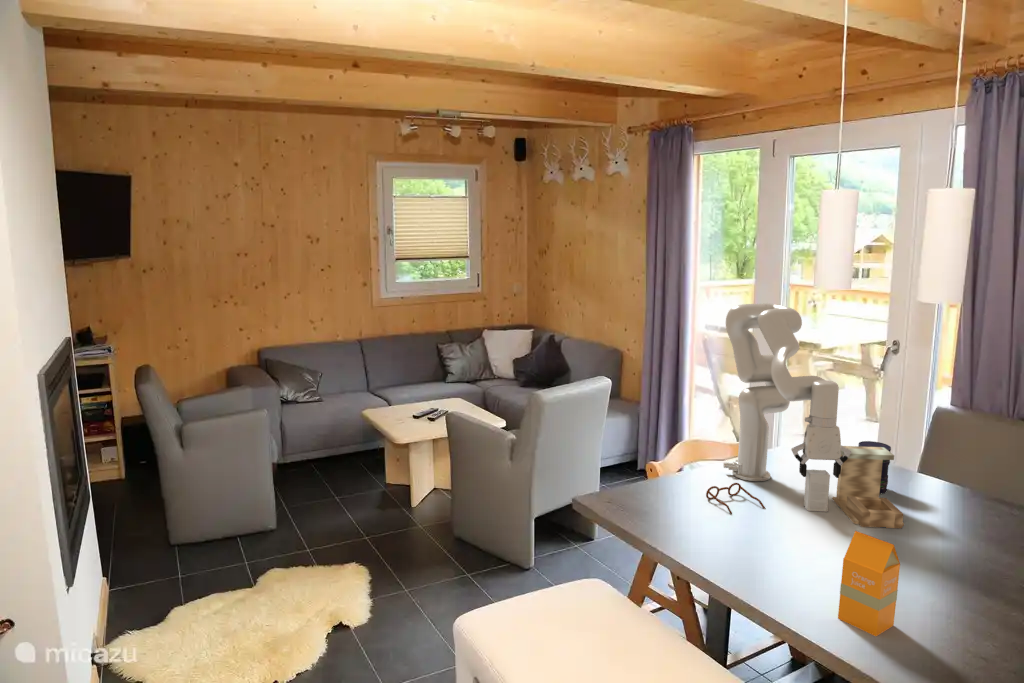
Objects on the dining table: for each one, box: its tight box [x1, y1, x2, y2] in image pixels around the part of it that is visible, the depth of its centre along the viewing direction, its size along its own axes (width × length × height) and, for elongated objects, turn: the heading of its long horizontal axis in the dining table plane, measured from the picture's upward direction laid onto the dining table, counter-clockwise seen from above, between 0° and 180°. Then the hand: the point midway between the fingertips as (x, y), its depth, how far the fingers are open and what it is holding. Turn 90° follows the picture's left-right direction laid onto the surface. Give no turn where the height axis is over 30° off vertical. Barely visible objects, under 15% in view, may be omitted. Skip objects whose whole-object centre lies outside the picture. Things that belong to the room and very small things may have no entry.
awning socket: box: [831, 445, 905, 529], centre depth 220 cm, size 14×21×18 cm
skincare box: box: [803, 469, 831, 513], centre depth 224 cm, size 6×4×12 cm
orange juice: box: [837, 530, 901, 637], centre depth 160 cm, size 8×9×20 cm
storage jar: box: [857, 440, 892, 495], centre depth 241 cm, size 10×10×15 cm
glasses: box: [705, 482, 767, 515], centre depth 227 cm, size 13×13×5 cm
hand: (819, 476), depth 222 cm, fingers open, 9 cm apart
